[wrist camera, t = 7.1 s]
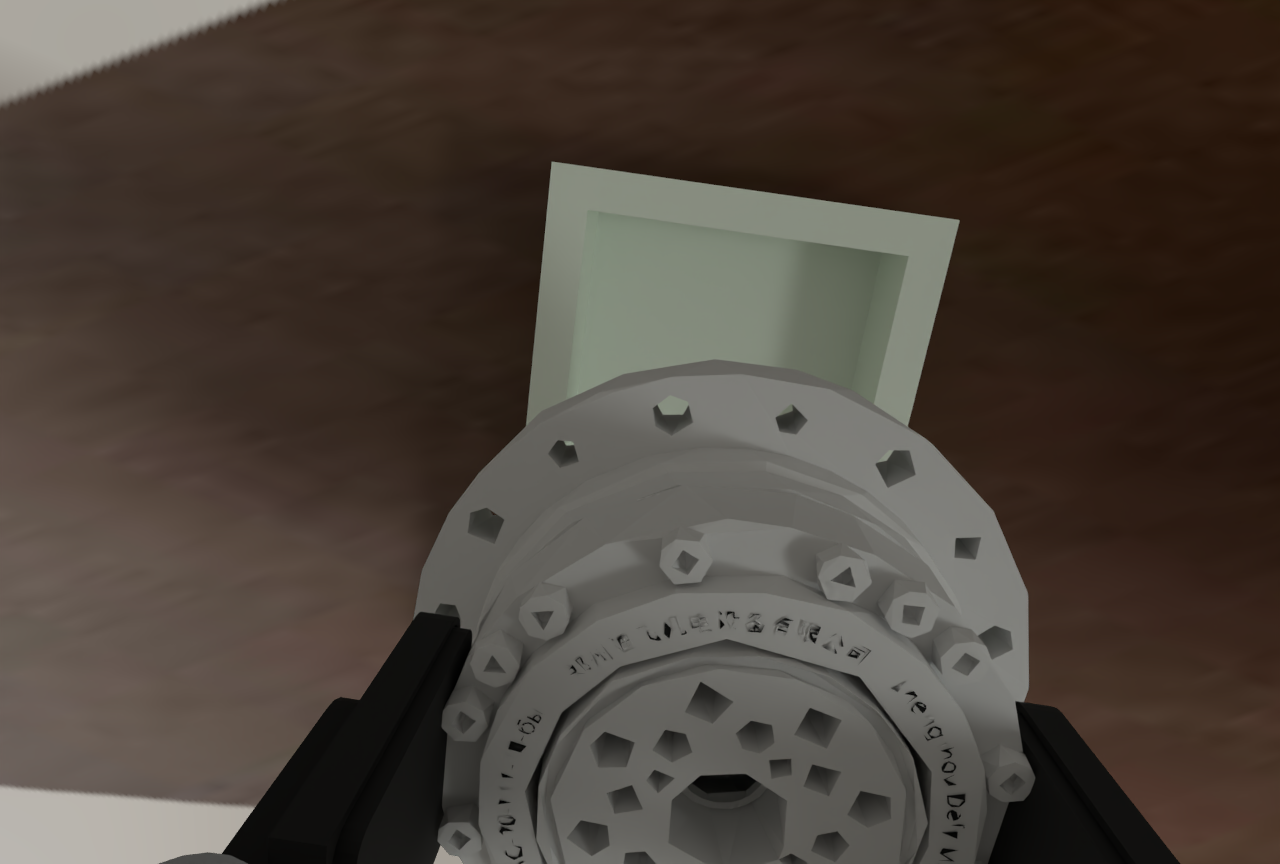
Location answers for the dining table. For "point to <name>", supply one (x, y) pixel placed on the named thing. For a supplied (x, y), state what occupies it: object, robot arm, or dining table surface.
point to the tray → (731, 286)
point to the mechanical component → (728, 635)
